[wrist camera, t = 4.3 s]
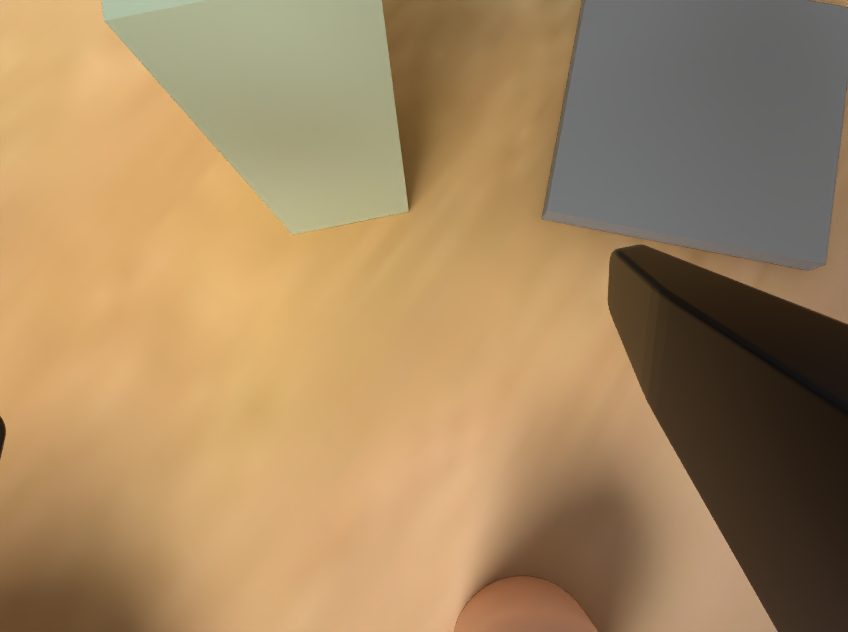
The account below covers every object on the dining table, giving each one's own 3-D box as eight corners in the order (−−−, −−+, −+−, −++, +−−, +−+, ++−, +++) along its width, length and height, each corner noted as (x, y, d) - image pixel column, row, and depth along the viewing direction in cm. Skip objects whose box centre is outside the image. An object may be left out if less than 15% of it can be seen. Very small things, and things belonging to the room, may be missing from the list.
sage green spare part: (409, 211, 22) (377, -34, 10) (292, 234, 22) (103, 20, 10) (386, 102, 23) (328, -266, 10) (272, 124, 23) (70, -218, 10)
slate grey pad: (807, 270, 22) (825, 264, 21) (541, 219, 22) (546, 211, 21) (838, 25, 23) (856, 8, 22) (585, -20, 24) (592, -38, 23)
